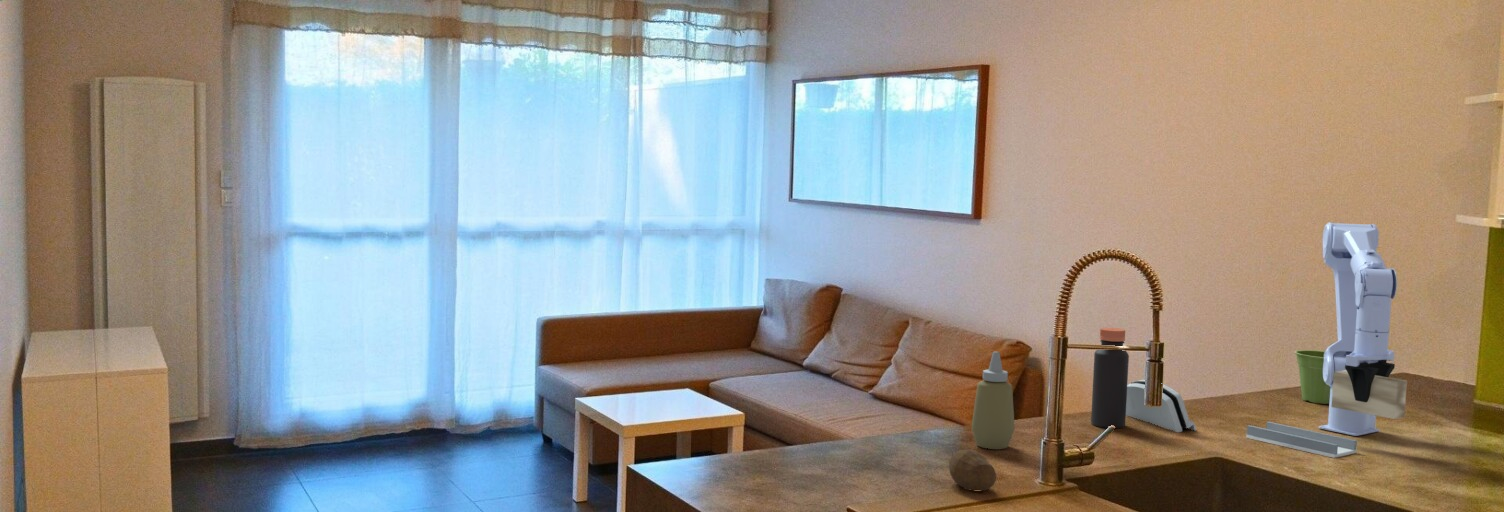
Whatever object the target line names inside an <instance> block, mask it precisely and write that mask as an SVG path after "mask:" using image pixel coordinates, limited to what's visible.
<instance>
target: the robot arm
mask: <svg viewBox="0 0 1504 512" xmlns="http://www.w3.org/2000/svg"><path fill="white" fill-rule="evenodd" d="M1379 237H1380V234H1379V228H1378V226H1376V224H1375V223H1370V224H1368V223H1367V224H1365V223H1363V224H1362V223H1361V224H1360V223H1359V224H1358V223H1337V222H1336V223H1335V222H1334V223H1333V222H1329V221H1328V222H1327V223H1326V224H1325V225H1324V227H1323V231H1322V257H1323V260H1324V265H1325V266H1327V267H1329V268H1331V269H1332V271H1333V272H1332V274H1333V279H1334V288H1335V291H1334V292H1335V307H1336V308H1335V309H1336V327H1337V328H1336V329H1337V332H1336V333H1337V341H1336V342H1333V344H1331V345H1329V346H1328V347H1327V348H1326V350H1324V351H1325V353H1324V363H1323V379H1324V382H1325V383H1326V384H1327V385H1329V386H1330V387H1331V388H1330V402H1329V404H1328V405H1329V406H1328V418H1327V419H1328V420H1327V424H1323V425H1319V426H1318V429H1320V430H1325V431H1330V432H1335V433H1339V434H1343V435H1348V436H1349V435H1350V436H1354V437H1356V436H1357V437H1358V436H1363V435H1368V434H1372V433H1376V432H1377V433H1378V432H1380V428H1376V421H1377V419H1376V418H1377V416H1376V415H1371V414H1365V413H1360V412H1355V411H1350V410H1345V409H1339V408H1334V407H1331V406H1332V392H1333V377H1334V372H1337V371H1343V370H1346V371H1347V372H1348V374H1349V377H1350V379H1351V382H1352V387H1353V391H1354V397H1355V400H1356V401H1361V402H1368V399H1369V396H1370V390H1371V385H1372V382H1373V379H1374V377H1375V375H1376V376H1382V377H1389V378H1390V375H1391V373H1392V372H1393V371H1394V369H1395V367H1396V365H1395V363H1392V362H1394V361H1395V350H1389V340H1390V339H1389V338H1390V326H1391V325H1390V324H1391V310H1392V300H1394V298H1395V297H1396V293H1397V287H1398V278H1397V275H1398V274H1397V272H1396V270H1395V268H1387V266H1386V264H1385V261H1384V259H1383V257H1382V255H1381V254H1380V253H1379V252H1378V251H1377V249H1378V246H1379V240H1380V238H1379Z"/></svg>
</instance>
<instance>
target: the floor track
mask: <svg viewBox="0 0 1504 512" xmlns="http://www.w3.org/2000/svg"><path fill="white" fill-rule="evenodd" d="M1245 438H1247V439H1250V440H1255V441H1258V442H1264V443H1269V444H1272V445H1276V446H1280V447H1285V448H1290V449H1294V450H1298V451H1302V452H1306V453H1311V454H1314V455H1321V456H1325V457H1328V458H1333V459H1335V458H1340V457H1345V456H1349V455H1353V454H1357V453H1358V449H1357V445H1358V440H1357V439H1353V438H1348V437H1343V436H1338V435H1334V434H1333V435H1332V434H1330V433H1329V434H1327V433H1323V432H1319V431H1314V430H1310V429H1305V428H1300V427H1297V426H1292V425H1286V424H1282V423H1278V422H1272V421H1266V427H1259V426H1254V425H1247V426H1246V434H1245Z"/></svg>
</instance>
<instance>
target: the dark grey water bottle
mask: <svg viewBox="0 0 1504 512" xmlns="http://www.w3.org/2000/svg"><path fill="white" fill-rule="evenodd" d="M1099 331H1100V333H1099V342H1100V344H1101V345H1115V346H1123V347H1124V344H1125V341H1126V330H1125V329H1124V328H1118V327H1101V328H1100V330H1099ZM1101 345H1100V346H1101ZM1129 355H1130V354H1129V353H1128V351H1126V350H1125V351H1122V350H1097V349H1096V350H1095V351H1094V358H1093V373H1092V374H1093V375H1092V376H1093V377H1092V391H1091V392H1092V393H1091V394H1092V397H1091V417H1090V422H1091V424H1092V425H1093V426H1095V427H1099V428H1104V429H1108V428H1107V427H1108V426H1111V425H1114V426H1115V427H1116V428H1115V429H1123V428H1124V427H1125V426H1126V420H1127V419H1126V417H1127V415H1126V400H1127V384H1128V380H1129V379H1128V377H1129V361H1130V359H1129V357H1130V356H1129Z"/></svg>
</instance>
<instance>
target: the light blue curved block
mask: <svg viewBox="0 0 1504 512" xmlns="http://www.w3.org/2000/svg"><path fill="white" fill-rule="evenodd" d="M1145 380H1146V379H1140V380H1135V381H1131V382H1130V383H1127V400H1126V417H1131V418H1134V419H1136V418H1137V419H1136V420H1139V419H1140V420H1139V421H1142V420H1143V421H1142V422H1145V421H1146V422H1145V423H1148V422H1150V423H1149V424H1151V423H1152V424H1151V425H1154V424H1155V425H1154V426H1157V425H1158V427H1160V426H1162V427H1161V428H1163V427H1164V428H1163V429H1166V428H1167V429H1166V430H1169V429H1170V430H1169V431H1172V430H1173V431H1172V432H1175V433H1181V432H1183V428H1184V429H1187V428H1188V430H1190V429H1191V431H1193V430H1194V432H1197V427H1196V422H1194V421H1191V420H1190V418H1189V414H1188V412H1187V409H1186V405H1185V403H1184V399H1183V397H1182V395H1181V394H1180V393H1179V392H1178V391H1176V390H1174V389H1173V388H1171V387H1170V386H1168V385H1165V384H1164V383H1162V384H1163V392H1162V406H1161V407H1146V406H1145V405H1144V388H1145Z"/></svg>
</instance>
